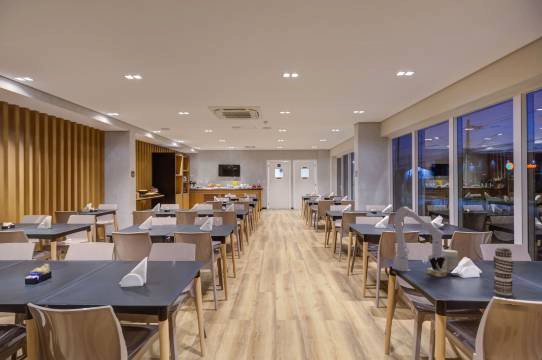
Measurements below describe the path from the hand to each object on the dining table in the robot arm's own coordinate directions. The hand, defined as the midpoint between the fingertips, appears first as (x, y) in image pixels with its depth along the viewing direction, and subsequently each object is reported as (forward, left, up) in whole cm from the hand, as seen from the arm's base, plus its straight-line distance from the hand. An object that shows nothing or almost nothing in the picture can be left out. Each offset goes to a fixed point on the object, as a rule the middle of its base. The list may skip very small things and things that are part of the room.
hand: (436, 268), depth 216 cm
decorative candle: (+38, +4, -4) cm, 39 cm away
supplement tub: (-1, +15, -4) cm, 16 cm away
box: (0, 0, -4) cm, 4 cm away
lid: (0, 0, -2) cm, 2 cm away
